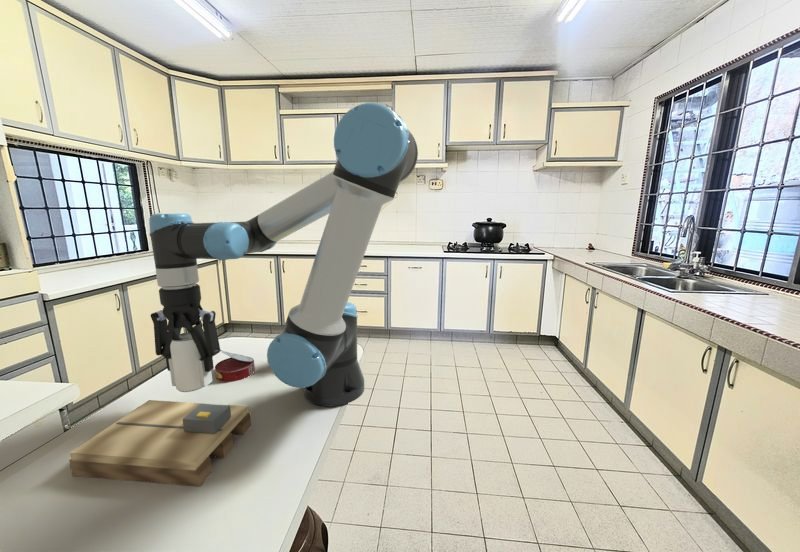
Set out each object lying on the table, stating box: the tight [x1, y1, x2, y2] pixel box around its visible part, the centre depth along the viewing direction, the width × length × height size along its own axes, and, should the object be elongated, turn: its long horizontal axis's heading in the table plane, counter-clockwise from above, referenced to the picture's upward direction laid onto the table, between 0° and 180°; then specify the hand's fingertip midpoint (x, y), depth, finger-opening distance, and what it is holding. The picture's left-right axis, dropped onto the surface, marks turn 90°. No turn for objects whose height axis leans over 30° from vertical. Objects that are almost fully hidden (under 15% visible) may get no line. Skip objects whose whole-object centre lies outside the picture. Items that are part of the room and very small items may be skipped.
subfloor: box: [68, 399, 252, 488], centre depth 63 cm, size 23×16×5 cm
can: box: [170, 331, 203, 393], centre depth 75 cm, size 6×6×12 cm
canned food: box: [214, 349, 256, 383], centre depth 93 cm, size 11×10×10 cm
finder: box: [183, 403, 231, 434], centre depth 63 cm, size 6×5×3 cm
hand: (192, 383), depth 76 cm, fingers closed on can, 6 cm apart
